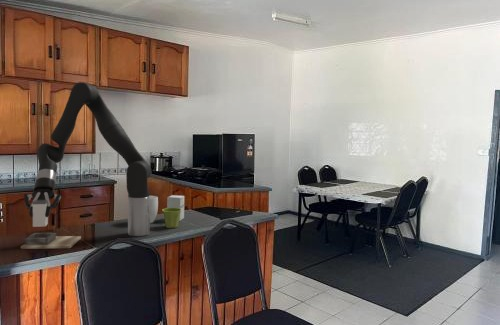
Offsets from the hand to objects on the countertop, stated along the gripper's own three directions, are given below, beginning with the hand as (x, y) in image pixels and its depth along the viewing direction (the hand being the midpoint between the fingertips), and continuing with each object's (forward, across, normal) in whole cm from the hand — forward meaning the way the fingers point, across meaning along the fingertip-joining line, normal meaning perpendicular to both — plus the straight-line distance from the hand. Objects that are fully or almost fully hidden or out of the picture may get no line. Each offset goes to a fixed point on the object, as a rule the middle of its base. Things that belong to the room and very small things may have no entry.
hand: (39, 216), depth 150 cm
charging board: (+7, +4, +10) cm, 13 cm away
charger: (+2, 0, +4) cm, 5 cm away
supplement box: (-17, +58, +34) cm, 69 cm away
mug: (-14, +42, +31) cm, 54 cm away
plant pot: (-6, +54, +23) cm, 59 cm away
